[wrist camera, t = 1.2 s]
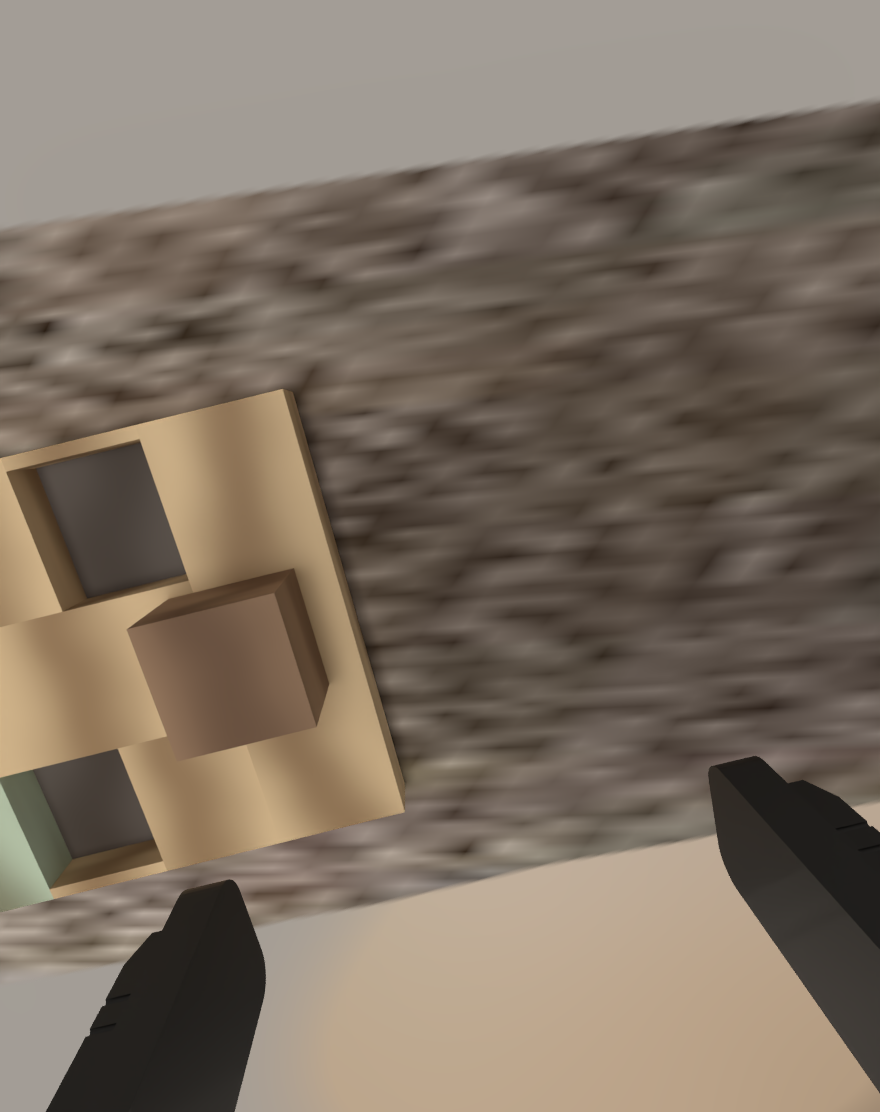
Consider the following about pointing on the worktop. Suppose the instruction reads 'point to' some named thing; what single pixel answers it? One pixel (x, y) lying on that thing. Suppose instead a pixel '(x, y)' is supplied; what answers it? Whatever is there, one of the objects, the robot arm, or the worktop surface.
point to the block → (232, 664)
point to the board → (115, 673)
